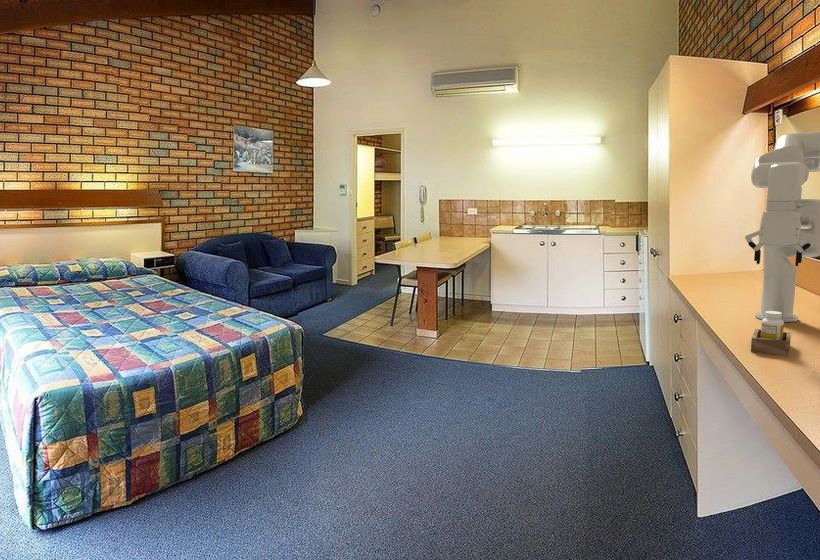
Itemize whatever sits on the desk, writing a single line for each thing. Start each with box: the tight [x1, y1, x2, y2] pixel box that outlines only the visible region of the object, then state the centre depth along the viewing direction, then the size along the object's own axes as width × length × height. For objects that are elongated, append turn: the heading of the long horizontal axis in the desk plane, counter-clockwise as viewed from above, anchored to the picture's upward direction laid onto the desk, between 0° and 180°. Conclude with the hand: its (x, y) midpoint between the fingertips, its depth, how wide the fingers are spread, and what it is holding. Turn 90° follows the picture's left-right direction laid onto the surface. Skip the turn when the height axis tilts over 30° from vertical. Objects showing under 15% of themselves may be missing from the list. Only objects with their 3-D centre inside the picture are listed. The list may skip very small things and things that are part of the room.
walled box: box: [750, 328, 792, 357], centre depth 160 cm, size 12×9×4 cm
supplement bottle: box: [760, 311, 785, 341], centre depth 160 cm, size 5×5×10 cm
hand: (777, 264), depth 165 cm, fingers open, 9 cm apart
